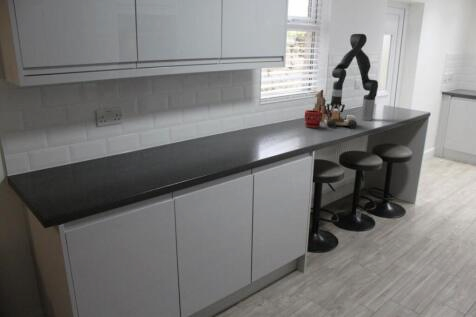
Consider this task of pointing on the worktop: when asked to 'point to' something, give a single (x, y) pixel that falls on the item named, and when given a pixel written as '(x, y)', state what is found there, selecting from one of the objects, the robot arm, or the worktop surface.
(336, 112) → the engine block
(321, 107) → the wooden toy
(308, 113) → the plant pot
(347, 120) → the car chassis
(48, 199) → the worktop surface
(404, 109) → the worktop surface
